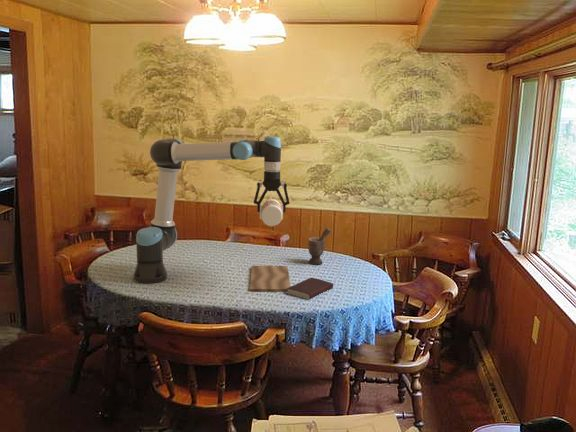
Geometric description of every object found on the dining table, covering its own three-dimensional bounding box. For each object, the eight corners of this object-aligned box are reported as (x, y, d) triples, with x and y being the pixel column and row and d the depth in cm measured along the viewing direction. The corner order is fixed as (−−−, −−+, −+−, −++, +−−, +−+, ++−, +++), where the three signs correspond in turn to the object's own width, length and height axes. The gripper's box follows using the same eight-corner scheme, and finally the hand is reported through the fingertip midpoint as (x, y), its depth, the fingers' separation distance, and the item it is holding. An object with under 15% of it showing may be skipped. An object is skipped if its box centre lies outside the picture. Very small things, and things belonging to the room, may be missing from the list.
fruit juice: (257, 212, 232) (257, 201, 259) (267, 230, 234) (267, 218, 261) (276, 201, 231) (274, 192, 259) (286, 220, 233) (284, 208, 261)
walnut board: (250, 291, 235) (250, 288, 235) (251, 267, 271) (251, 265, 270) (290, 291, 236) (291, 289, 236) (287, 268, 272) (287, 265, 271)
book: (333, 289, 243) (333, 282, 242) (309, 300, 227) (310, 293, 227) (310, 283, 250) (310, 277, 249) (286, 294, 234) (286, 287, 234)
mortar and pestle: (330, 262, 285) (331, 225, 281) (328, 266, 276) (330, 229, 272) (308, 260, 286) (310, 224, 283) (306, 265, 278) (307, 227, 274)
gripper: (247, 171, 239) (247, 220, 244) (296, 172, 240) (295, 221, 245) (248, 169, 247) (247, 217, 251) (295, 170, 248) (294, 217, 252)
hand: (271, 218), depth 248 cm, fingers closed on fruit juice, 9 cm apart
